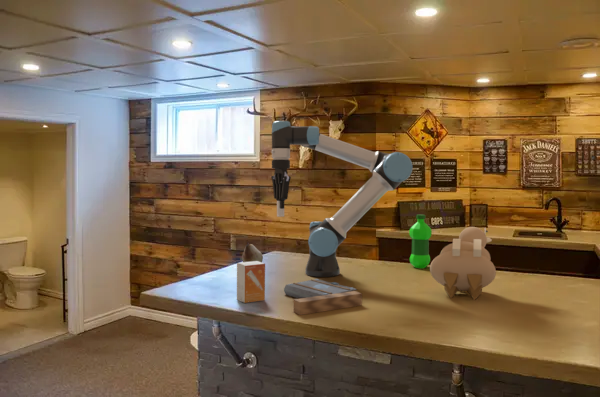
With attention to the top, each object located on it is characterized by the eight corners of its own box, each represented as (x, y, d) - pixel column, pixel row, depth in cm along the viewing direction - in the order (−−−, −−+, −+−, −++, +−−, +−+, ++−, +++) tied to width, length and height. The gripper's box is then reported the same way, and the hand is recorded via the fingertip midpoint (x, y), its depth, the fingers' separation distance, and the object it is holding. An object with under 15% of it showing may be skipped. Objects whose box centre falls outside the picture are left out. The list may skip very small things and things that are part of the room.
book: (284, 296, 178) (284, 282, 178) (317, 289, 188) (317, 276, 188) (323, 308, 162) (323, 293, 162) (357, 300, 173) (357, 286, 172)
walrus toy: (497, 205, 172) (431, 204, 180) (498, 275, 156) (425, 270, 163) (493, 252, 194) (434, 249, 202) (494, 317, 178) (430, 311, 185)
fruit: (245, 265, 233) (245, 240, 232) (264, 266, 232) (264, 241, 231) (240, 270, 223) (240, 243, 222) (260, 270, 222) (260, 244, 221)
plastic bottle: (433, 269, 227) (434, 215, 226) (410, 269, 227) (411, 215, 226) (428, 265, 237) (429, 214, 236) (406, 265, 237) (407, 213, 236)
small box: (244, 303, 165) (244, 265, 165) (236, 299, 171) (236, 262, 170) (265, 300, 170) (265, 263, 169) (256, 296, 175) (256, 260, 175)
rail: (354, 302, 168) (354, 290, 168) (361, 305, 164) (361, 293, 164) (293, 311, 156) (293, 299, 156) (299, 314, 152) (299, 302, 152)
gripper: (265, 159, 204) (265, 215, 205) (280, 158, 193) (279, 218, 194) (281, 159, 208) (281, 214, 209) (296, 159, 197) (296, 217, 198)
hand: (280, 216), depth 202 cm, fingers closed
